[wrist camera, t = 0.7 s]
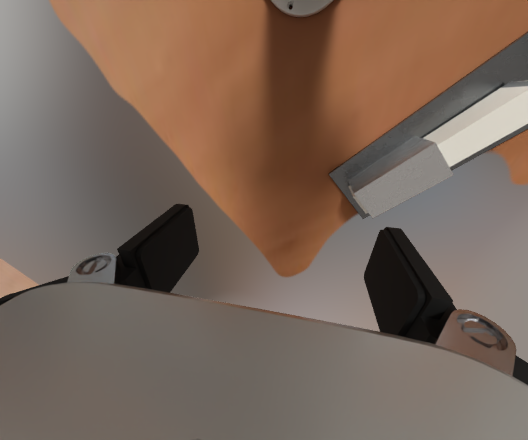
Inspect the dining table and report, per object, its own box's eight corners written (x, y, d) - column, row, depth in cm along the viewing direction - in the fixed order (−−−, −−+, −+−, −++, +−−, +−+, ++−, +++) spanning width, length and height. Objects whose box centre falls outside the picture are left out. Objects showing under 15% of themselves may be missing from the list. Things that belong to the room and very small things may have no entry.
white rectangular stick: (359, 201, 40) (365, 213, 36) (348, 186, 39) (353, 197, 35) (519, 106, 29) (556, 107, 25) (509, 81, 28) (545, 78, 24)
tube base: (362, 217, 43) (371, 237, 36) (328, 173, 40) (332, 187, 33) (668, 48, 25) (791, 30, 18) (651, -57, 22) (791, -122, 15)
